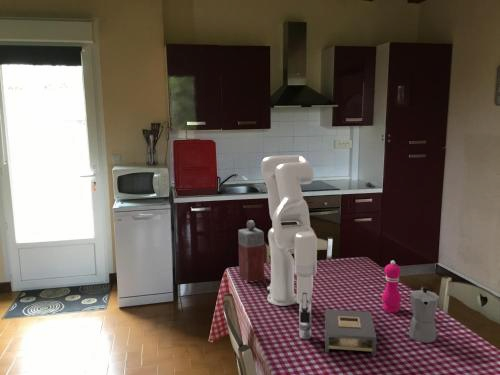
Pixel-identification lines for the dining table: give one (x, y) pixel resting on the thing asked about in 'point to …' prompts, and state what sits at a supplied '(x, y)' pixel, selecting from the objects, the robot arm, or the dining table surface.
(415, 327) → the coffeepot
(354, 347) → the grey square socket block
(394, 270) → the pepper mill
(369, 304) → the dining table surface
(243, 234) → the brown lidded canister
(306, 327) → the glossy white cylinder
